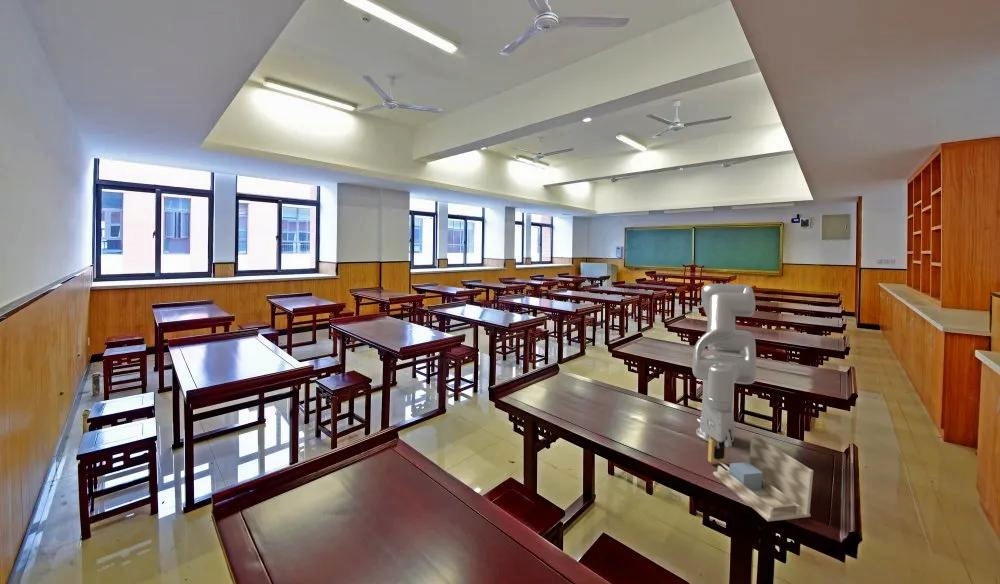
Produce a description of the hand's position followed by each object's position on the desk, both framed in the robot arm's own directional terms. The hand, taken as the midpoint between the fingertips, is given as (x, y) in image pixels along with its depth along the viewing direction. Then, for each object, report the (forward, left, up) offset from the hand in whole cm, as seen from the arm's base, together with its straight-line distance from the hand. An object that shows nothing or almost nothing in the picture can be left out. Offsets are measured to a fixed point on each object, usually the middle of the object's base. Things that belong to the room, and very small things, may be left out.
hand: (716, 456), depth 134 cm
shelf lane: (+17, +1, -3) cm, 17 cm away
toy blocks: (+8, 0, -2) cm, 8 cm away
